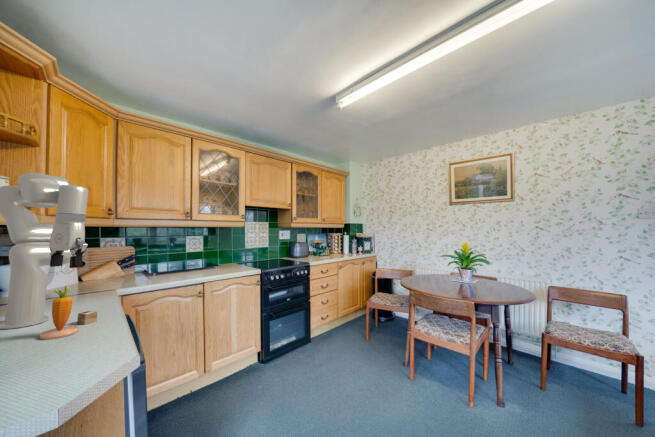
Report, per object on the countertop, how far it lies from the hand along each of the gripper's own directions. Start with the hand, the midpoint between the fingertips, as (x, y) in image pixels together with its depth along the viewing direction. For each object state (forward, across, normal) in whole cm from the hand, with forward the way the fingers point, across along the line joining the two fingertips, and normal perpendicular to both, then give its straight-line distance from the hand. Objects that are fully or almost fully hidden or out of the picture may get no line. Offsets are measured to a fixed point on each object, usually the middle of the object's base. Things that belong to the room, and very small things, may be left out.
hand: (65, 266), depth 87 cm
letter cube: (+23, -4, +11) cm, 26 cm away
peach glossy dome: (+23, +1, 0) cm, 23 cm away
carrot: (+22, 0, 0) cm, 22 cm away
